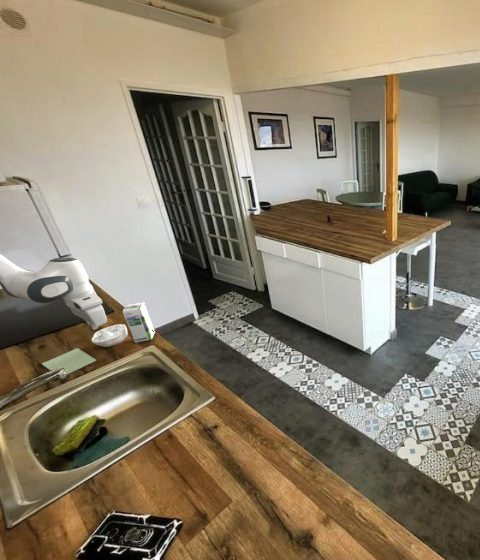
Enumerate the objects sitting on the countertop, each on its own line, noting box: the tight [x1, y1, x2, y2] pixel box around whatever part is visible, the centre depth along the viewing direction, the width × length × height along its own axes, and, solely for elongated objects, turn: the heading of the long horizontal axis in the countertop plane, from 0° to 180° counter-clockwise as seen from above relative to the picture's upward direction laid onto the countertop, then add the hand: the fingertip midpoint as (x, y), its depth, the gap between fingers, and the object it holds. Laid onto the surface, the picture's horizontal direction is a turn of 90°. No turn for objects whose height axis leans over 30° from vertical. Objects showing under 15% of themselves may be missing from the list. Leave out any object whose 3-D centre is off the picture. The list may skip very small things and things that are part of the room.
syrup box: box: [122, 301, 156, 344], centre depth 121 cm, size 6×6×14 cm
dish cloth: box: [41, 347, 97, 379], centre depth 110 cm, size 10×14×1 cm
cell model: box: [91, 323, 128, 348], centre depth 119 cm, size 10×12×7 cm
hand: (94, 328), depth 124 cm, fingers closed
